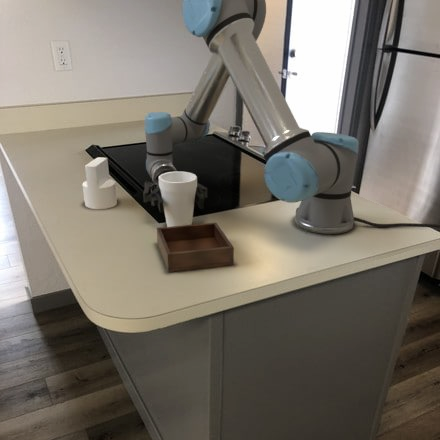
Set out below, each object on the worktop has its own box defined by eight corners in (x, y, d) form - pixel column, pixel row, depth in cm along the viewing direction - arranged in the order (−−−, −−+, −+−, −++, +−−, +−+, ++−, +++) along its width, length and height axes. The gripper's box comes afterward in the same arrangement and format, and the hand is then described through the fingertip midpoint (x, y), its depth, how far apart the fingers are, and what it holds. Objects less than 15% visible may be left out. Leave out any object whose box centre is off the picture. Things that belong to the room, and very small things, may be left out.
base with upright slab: (110, 210, 135) (105, 167, 129) (79, 207, 136) (73, 165, 130) (121, 199, 143) (117, 158, 137) (92, 197, 144) (87, 156, 138)
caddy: (216, 238, 120) (216, 222, 118) (233, 264, 108) (233, 247, 106) (157, 244, 117) (156, 227, 114) (168, 272, 105) (167, 254, 102)
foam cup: (178, 216, 132) (177, 169, 125) (204, 225, 127) (204, 176, 120) (153, 226, 126) (150, 177, 119) (179, 236, 121) (178, 185, 114)
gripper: (203, 188, 142) (224, 216, 124) (127, 194, 137) (137, 224, 118) (203, 162, 138) (225, 187, 120) (125, 167, 133) (135, 194, 114)
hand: (182, 205), depth 119 cm, fingers closed on foam cup, 9 cm apart
